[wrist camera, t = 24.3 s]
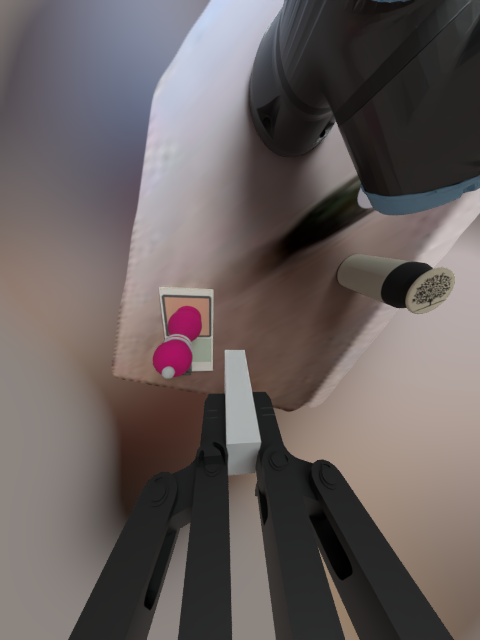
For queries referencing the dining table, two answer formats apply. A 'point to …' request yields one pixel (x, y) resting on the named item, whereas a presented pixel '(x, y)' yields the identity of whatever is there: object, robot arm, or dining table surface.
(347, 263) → the travel mug
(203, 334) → the picture board
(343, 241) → the dining table surface
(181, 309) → the pepper mill
